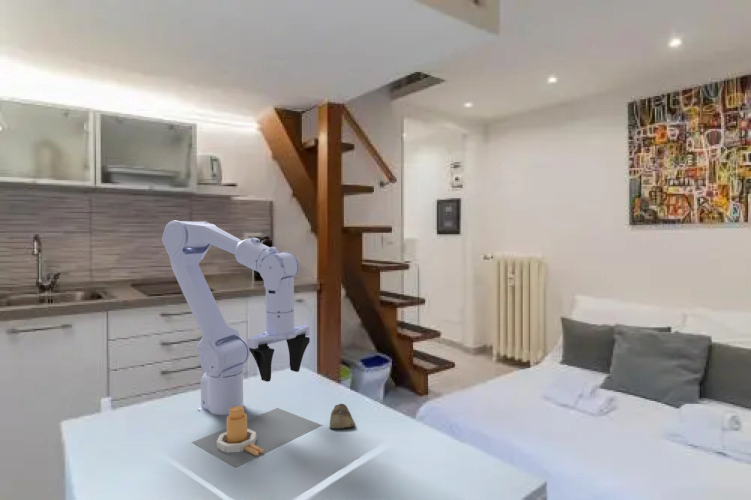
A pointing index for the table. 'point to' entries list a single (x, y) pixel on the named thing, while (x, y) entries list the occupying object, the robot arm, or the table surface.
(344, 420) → the stone
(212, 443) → the mat
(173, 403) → the table surface
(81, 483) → the table surface
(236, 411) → the stepped orange capsule
